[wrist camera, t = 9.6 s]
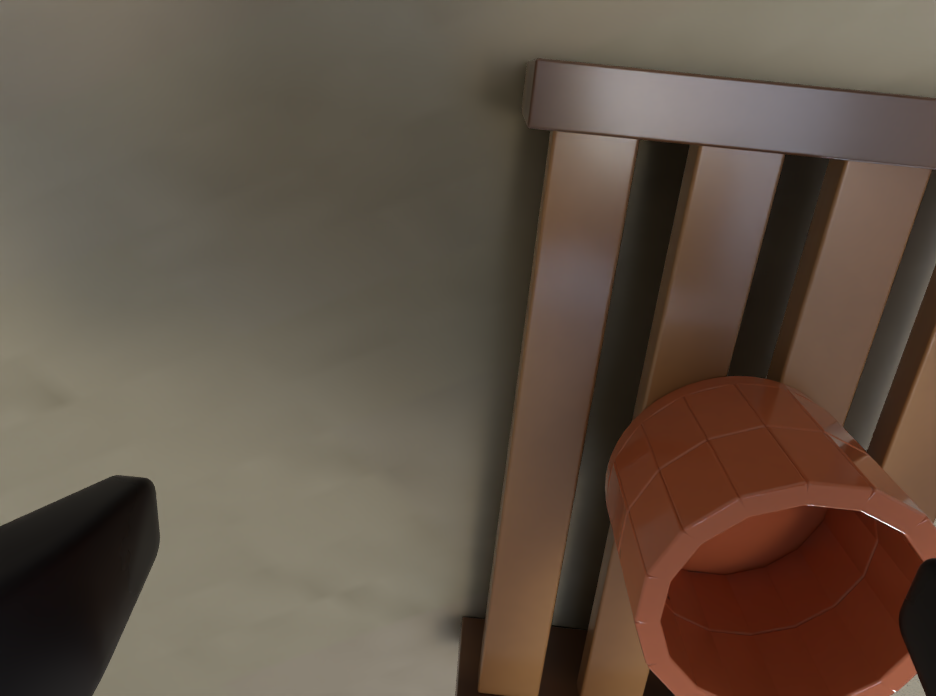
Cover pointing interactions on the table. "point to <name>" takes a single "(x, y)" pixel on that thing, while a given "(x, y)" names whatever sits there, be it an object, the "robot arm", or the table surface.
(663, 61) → the table surface
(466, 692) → the rack
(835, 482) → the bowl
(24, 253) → the table surface
